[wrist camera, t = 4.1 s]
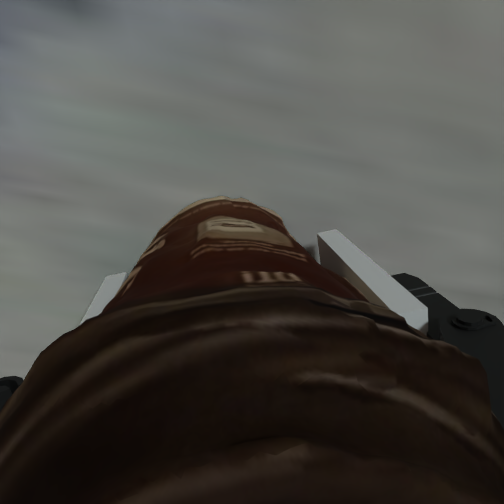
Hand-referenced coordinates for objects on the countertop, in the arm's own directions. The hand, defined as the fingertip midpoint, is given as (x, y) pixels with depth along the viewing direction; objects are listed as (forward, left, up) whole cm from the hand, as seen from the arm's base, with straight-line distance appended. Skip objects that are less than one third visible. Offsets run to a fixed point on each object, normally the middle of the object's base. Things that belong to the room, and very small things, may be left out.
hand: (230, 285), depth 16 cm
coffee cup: (0, 0, -1) cm, 1 cm away
